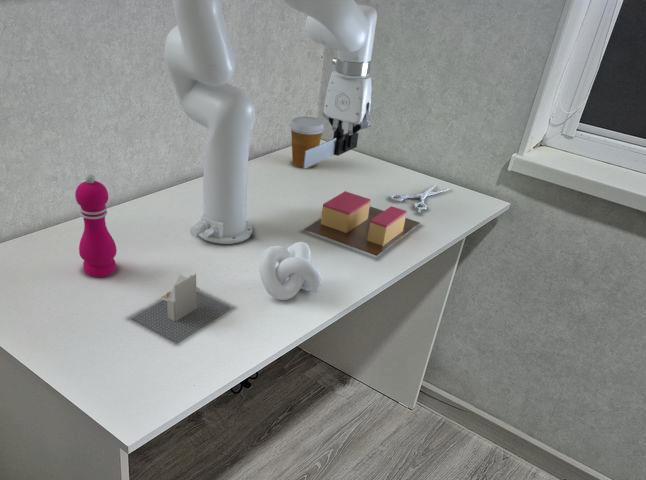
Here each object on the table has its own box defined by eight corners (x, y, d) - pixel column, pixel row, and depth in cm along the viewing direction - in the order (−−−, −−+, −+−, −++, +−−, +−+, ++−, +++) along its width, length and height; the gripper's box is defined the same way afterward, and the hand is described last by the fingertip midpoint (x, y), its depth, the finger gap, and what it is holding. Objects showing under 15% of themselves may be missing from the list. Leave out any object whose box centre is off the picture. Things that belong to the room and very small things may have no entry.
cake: (346, 233, 147) (349, 212, 144) (320, 224, 150) (322, 203, 147) (367, 219, 153) (370, 199, 150) (342, 210, 157) (345, 191, 154)
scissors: (384, 198, 164) (428, 178, 176) (384, 200, 164) (427, 181, 176) (419, 212, 158) (462, 191, 170) (418, 214, 159) (461, 193, 170)
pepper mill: (82, 280, 126) (70, 182, 114) (80, 262, 132) (68, 167, 120) (120, 277, 128) (111, 180, 116) (116, 259, 133) (107, 165, 121)
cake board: (376, 259, 139) (377, 255, 139) (303, 232, 148) (303, 229, 147) (419, 225, 154) (420, 222, 153) (350, 203, 162) (351, 200, 162)
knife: (308, 170, 144) (309, 152, 142) (299, 167, 145) (301, 150, 143) (356, 147, 159) (359, 130, 157) (348, 144, 160) (351, 128, 158)
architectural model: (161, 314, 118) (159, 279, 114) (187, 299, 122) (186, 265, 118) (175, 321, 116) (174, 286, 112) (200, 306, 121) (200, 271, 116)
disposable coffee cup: (282, 159, 185) (285, 116, 177) (313, 157, 187) (317, 115, 180) (293, 171, 177) (297, 127, 170) (325, 169, 180) (330, 126, 173)
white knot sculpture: (276, 313, 120) (280, 271, 115) (245, 283, 128) (246, 242, 123) (326, 298, 125) (331, 258, 120) (292, 271, 133) (296, 231, 128)
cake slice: (382, 246, 143) (386, 225, 140) (367, 240, 144) (370, 220, 141) (403, 231, 149) (407, 211, 146) (387, 225, 151) (391, 205, 148)
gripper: (313, 63, 146) (306, 144, 157) (376, 77, 139) (363, 161, 150) (331, 58, 151) (322, 136, 162) (392, 71, 143) (379, 152, 154)
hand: (342, 147), depth 156 cm, fingers closed on knife, 2 cm apart
